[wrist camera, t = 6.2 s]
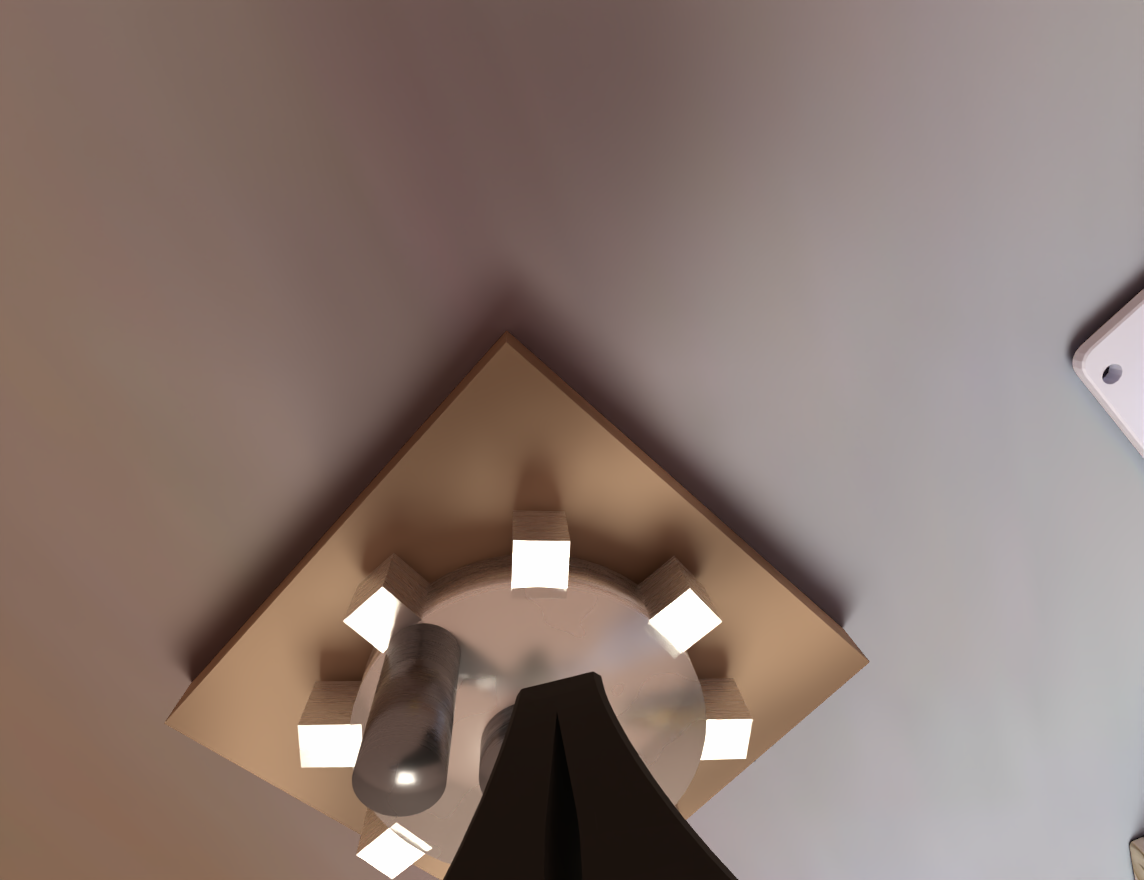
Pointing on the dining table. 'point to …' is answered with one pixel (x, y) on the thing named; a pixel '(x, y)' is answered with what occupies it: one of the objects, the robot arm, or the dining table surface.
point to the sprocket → (509, 681)
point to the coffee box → (1138, 858)
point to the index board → (484, 530)
